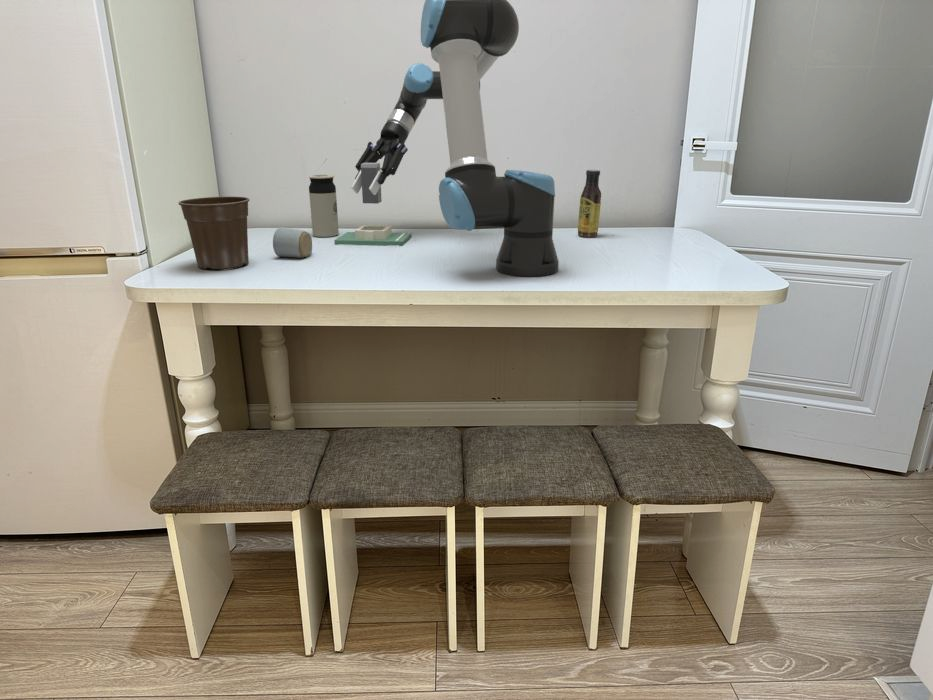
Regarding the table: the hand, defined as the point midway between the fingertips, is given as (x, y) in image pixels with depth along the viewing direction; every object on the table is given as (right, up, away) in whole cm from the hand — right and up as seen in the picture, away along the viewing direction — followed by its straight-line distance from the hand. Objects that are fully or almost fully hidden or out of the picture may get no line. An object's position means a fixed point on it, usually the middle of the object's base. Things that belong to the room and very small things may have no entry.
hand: (363, 191), depth 185 cm
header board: (+2, -13, +8) cm, 15 cm away
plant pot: (-32, -24, -23) cm, 46 cm away
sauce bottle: (+67, -11, +15) cm, 69 cm away
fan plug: (+2, -2, +4) cm, 5 cm away
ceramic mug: (-16, -21, -12) cm, 29 cm away
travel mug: (-14, -10, +16) cm, 24 cm away
